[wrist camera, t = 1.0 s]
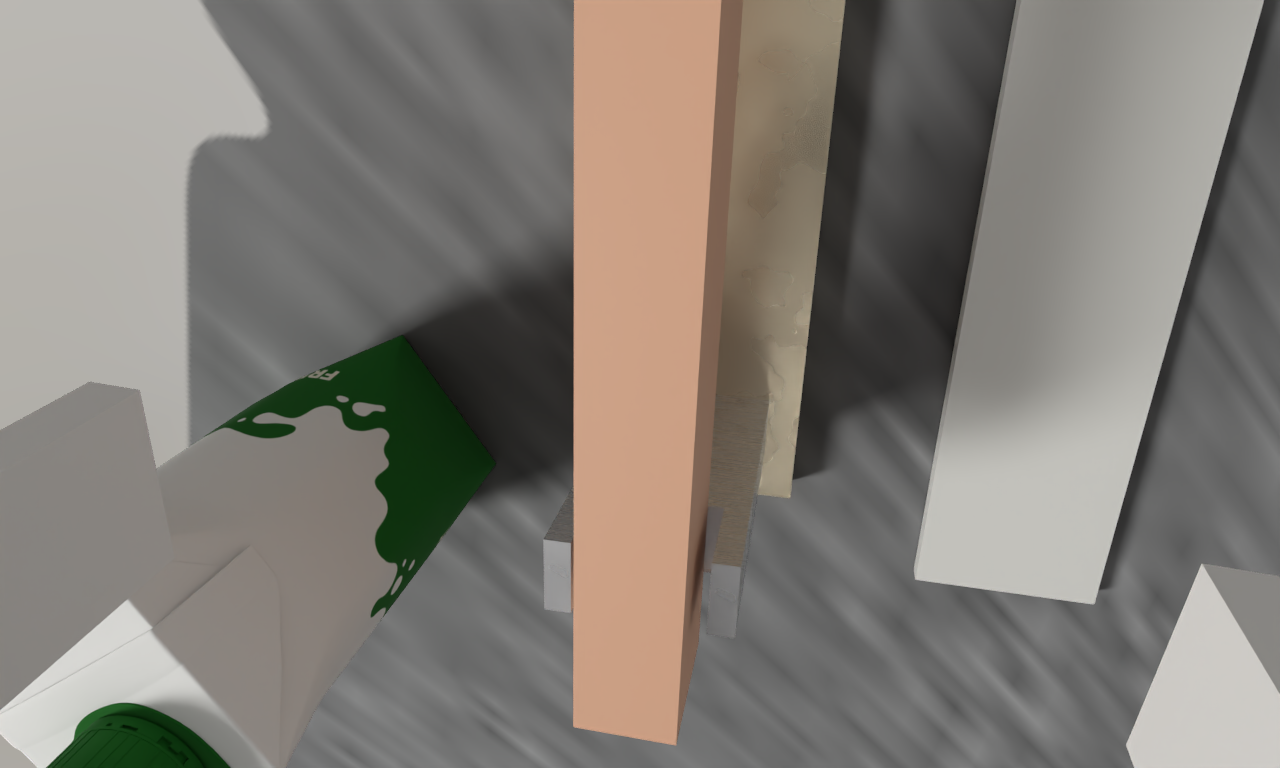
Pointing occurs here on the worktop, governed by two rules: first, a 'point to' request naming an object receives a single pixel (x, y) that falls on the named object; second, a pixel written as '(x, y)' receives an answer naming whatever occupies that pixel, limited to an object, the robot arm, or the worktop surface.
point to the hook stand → (756, 288)
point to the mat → (1075, 282)
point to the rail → (646, 344)
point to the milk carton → (263, 574)
